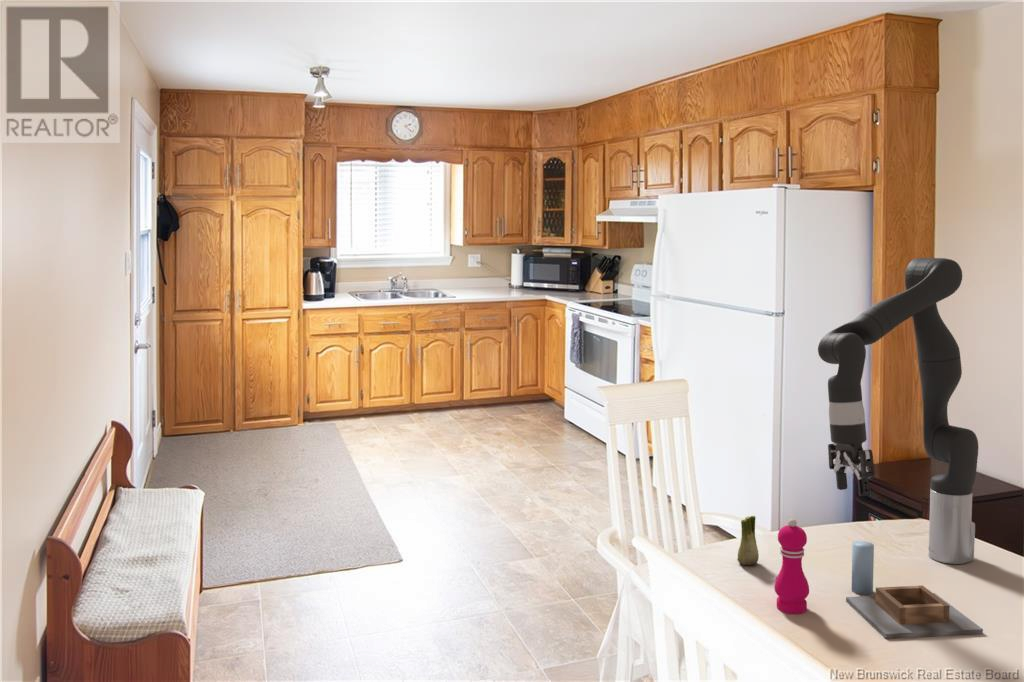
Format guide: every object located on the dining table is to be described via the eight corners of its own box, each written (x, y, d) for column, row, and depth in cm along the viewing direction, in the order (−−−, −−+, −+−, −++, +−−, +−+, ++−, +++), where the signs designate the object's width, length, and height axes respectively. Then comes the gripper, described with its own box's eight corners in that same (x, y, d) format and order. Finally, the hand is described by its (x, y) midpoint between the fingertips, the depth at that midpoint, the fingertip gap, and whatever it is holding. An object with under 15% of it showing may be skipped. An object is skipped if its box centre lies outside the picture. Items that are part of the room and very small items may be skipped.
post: (867, 586, 195) (868, 540, 194) (876, 594, 191) (877, 547, 189) (848, 587, 195) (848, 541, 194) (856, 595, 190) (857, 548, 189)
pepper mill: (811, 616, 181) (812, 525, 179) (776, 614, 182) (776, 523, 180) (806, 602, 188) (807, 514, 186) (772, 600, 189) (773, 513, 187)
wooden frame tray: (934, 597, 188) (934, 577, 188) (982, 633, 171) (983, 612, 170) (846, 601, 188) (846, 581, 187) (885, 638, 170) (885, 617, 169)
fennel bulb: (752, 559, 214) (752, 512, 213) (764, 565, 209) (764, 518, 208) (732, 562, 212) (732, 515, 211) (744, 569, 208) (744, 521, 206)
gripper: (881, 422, 185) (887, 496, 185) (844, 416, 199) (850, 485, 199) (850, 426, 184) (856, 500, 184) (815, 420, 198) (820, 489, 198)
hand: (852, 492), depth 192 cm, fingers open, 8 cm apart
